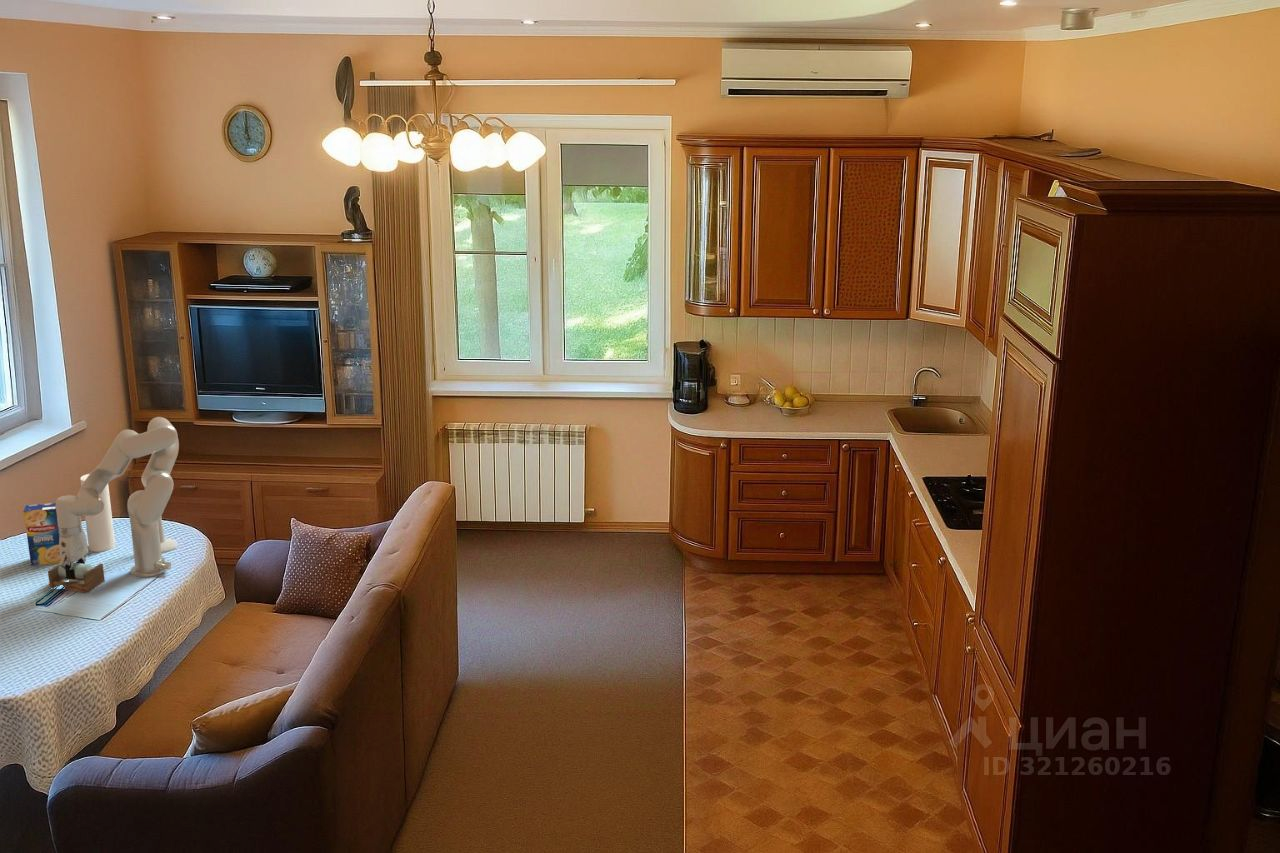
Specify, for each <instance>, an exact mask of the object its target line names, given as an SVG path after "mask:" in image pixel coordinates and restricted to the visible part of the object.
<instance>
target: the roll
mask: <svg viewBox="0 0 1280 853" xmlns="http://www.w3.org/2000/svg"><path fill="white" fill-rule="evenodd" d="M68 565H69V566H70V563H68ZM93 568H94V567H93V566H92V564H91V563H89V564H88V563H85V564H82V563H76V562H74V563H73V569H74V571H75V579H84V577H83V575H84V574H85V573H87V572H88V571H90V570H91V569H93ZM58 574H59V576H60V577H66V571H65V569H64V568H63V567H62V566H60V565H59V568H58Z"/></svg>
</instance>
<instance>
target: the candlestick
mask: <svg viewBox="0 0 1280 853" xmlns="http://www.w3.org/2000/svg"><path fill="white" fill-rule="evenodd" d="M162 519H163V518H162V516H161V517H160V518H159V519H158V524H159V535H160V544H161V554H164V553H165V552H166V553H169V552H171V551H174V550H176V549H177V548H178V547H179V543H178V541H177V540H175V539H172V538H166V537H165V532H164V525H163V520H162ZM177 546H178V547H177ZM168 551H169V552H168Z"/></svg>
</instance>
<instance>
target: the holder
mask: <svg viewBox="0 0 1280 853" xmlns="http://www.w3.org/2000/svg"><path fill="white" fill-rule="evenodd" d="M58 568H59V563H57V565H55V566H54V567H52V568H51V569H49V570H47V576H48V583H49V589H50V590H52V589H51V588H54V587H56V586H59V585H63V586H65V589H66V590H65V591H67V592H68V591H69V592H77V593H86V594H87V592H88V593H90V592H91V591H92V590H95V587H96V588H97V587H98V585H99V586H100V585H102V584H103V583H104V582H105V581H106V579H105V572H104V564H103V563H99V564H97V565H96V566H94V567H93V569H91V570H90V571H88V572H87V573H85V574H84V575H83V577H84V579H74V580H73V579H67V578H66V577H60V576H59V574H58ZM64 580H69V582H63V581H64Z"/></svg>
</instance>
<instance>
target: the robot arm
mask: <svg viewBox="0 0 1280 853" xmlns="http://www.w3.org/2000/svg"><path fill="white" fill-rule="evenodd" d="M178 437H179V436H178V432H177V429H176V428H175V426H174V425H173V424H172V423H171V422H170V421H169V420H168V419H167V418H165V417H162V416H157V417H153V418H152V419H151V420H150V421H149V422H148V425H147V430H146V431H145V432H142V433H141V432H140V433H138V432H137V431H135V430H133V429H123V430H121V431H120V432H119V433H118V434H117V435H116V437H115V439H114V440H113V442H112V443H111V445H110V446H109V448H108V450H107V452H106V453H105V455H104V456H103V458H102V460H101V461H100V463H99V464H98V465H97V466H96V467H95V468H94V469H93V470H92V471H90V473H88V474H89V476H88V477H87V478H86V480H85V481H84V483H83V485H82V486H81V485H80V486H81V487H80V488H79V490H78V492H77V495H72V494H71V495H70V494H67V495H62V496H59V497H57V499H56V500H55V503H56V512H57V519H58V527H59V535H60V537H59V550H60V558H61V561H60V563H58V564H59V565H60V566H62V567H63V568H64V569H65V571H66V578H67V579H73V580H74V579H75V571H74V569H73V563H82V564H86V560H87V559H86V558H87V555H88V553H89V544H88V539H87V537H86V536H87V535H86V533H85V530H84V529H83V523H82V517H85V516H93V515H97V514H99V513H101V512H102V511H103V509H104V502H103V500H102V499H101V497H100V495H101V493H102V492H103V490H104V488H105V487H106V486H107V484H108V485H109V484H110V482H111V481H112V480H114V479H116V478H119V477H121V476H123V474H124V473H125V472H126V470H127V468H128V467H129V464H130V463H131V461H132V460H133V459H139V458H142V457H145V456H149V455H151V456H150V458H149V460H148V462H147V464H146V467H145V468H144V470H143V472H142V474H141V478H140V480H141V483H142V485H143V487H144V489H140V490H136V491H134V492H132V493H131V495H129V498H128V499H127V504H126V505H127V506H126V507H127V513H128V517H129V523H130V531H131V541H132V549H133V559H134V565H133V566H132V567H131V569H130V572H131V575H133V576H135V577H139V578H149V577H155V576H158V575H160V574H163V573H164V572H166V571H167V570H171V569H172V562H170V561H166V558H165V557H163V555H162V554H163V553H161V544H160V535H159V524H158V519H159V518H160V517H161V518H162V515H163V513H164V510H165V509H166V508H167V504H168V502H169V500H170V498H171V497H172V496H171V495H172V493H173V490H174V486H175V484H174V479H173V478H172V476H171V472H172V471H173V467H174V466H175V463H176V460H177V457H178V456H179V447H180V443H179V441H180V440H179V438H178ZM68 563H70V566H69V565H68Z"/></svg>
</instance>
